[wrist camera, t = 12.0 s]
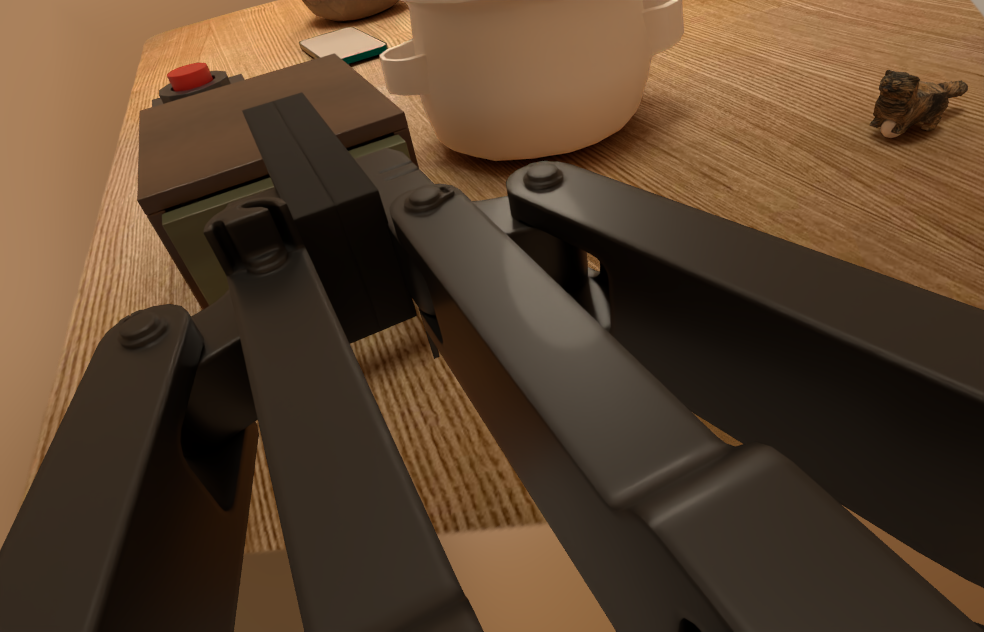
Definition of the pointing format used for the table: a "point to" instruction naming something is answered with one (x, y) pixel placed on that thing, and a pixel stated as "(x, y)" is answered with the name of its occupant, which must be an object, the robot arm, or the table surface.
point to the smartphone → (344, 45)
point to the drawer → (195, 214)
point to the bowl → (347, 8)
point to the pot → (529, 70)
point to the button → (189, 76)
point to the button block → (218, 81)
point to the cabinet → (247, 135)
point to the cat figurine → (911, 102)
